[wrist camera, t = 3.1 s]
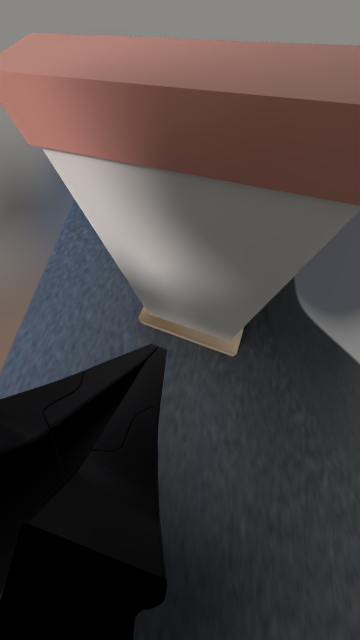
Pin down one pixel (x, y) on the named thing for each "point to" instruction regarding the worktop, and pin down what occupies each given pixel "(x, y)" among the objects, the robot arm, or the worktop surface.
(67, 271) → the worktop surface
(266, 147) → the white red-topped panel
